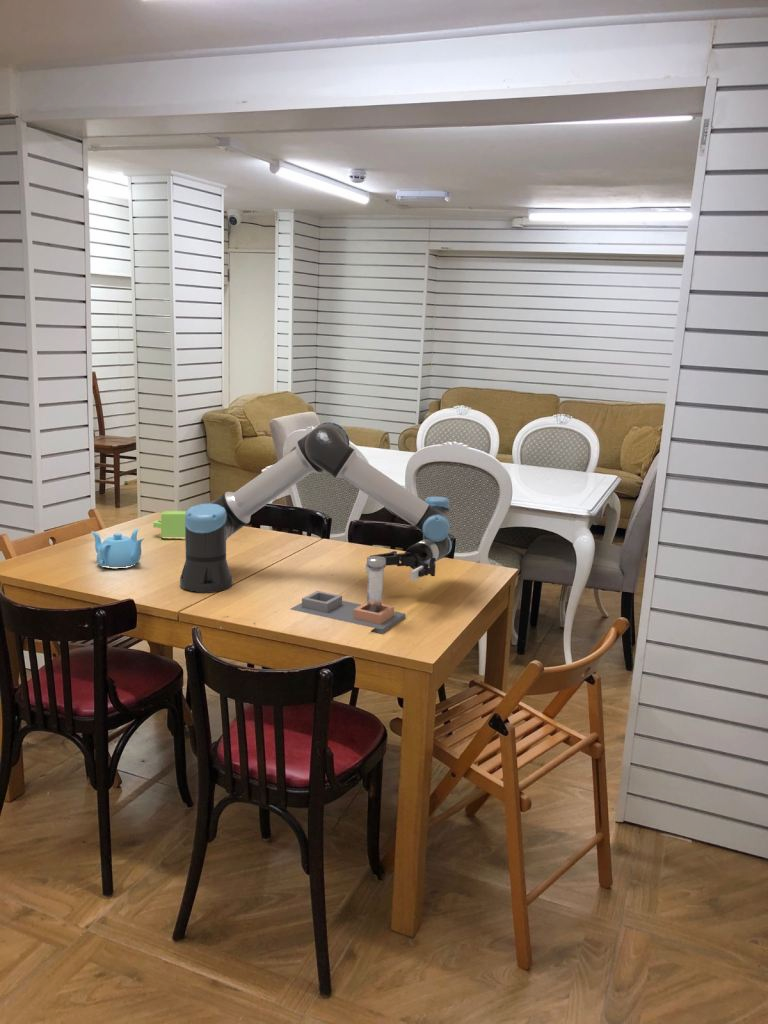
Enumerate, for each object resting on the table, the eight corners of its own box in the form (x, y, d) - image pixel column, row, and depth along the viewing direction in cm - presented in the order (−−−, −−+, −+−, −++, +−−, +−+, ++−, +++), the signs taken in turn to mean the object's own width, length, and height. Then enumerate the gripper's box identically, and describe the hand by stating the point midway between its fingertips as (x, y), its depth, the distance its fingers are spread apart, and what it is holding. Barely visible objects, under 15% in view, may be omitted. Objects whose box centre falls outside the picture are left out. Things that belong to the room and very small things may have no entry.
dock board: (289, 613, 210) (289, 600, 209) (316, 599, 222) (316, 586, 222) (381, 633, 198) (382, 620, 197) (405, 617, 210) (405, 604, 209)
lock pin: (360, 617, 205) (363, 559, 202) (369, 612, 210) (372, 555, 207) (377, 621, 203) (380, 562, 200) (386, 615, 208) (389, 558, 204)
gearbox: (204, 534, 292) (205, 509, 290) (204, 540, 282) (204, 514, 280) (154, 534, 288) (154, 508, 286) (152, 539, 278) (152, 513, 277)
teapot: (95, 573, 238) (94, 541, 236) (91, 560, 251) (90, 529, 249) (145, 569, 244) (144, 538, 242) (139, 556, 257) (138, 526, 255)
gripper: (460, 574, 224) (430, 593, 206) (383, 560, 235) (348, 577, 217) (461, 549, 223) (432, 566, 204) (384, 536, 234) (349, 551, 215)
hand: (389, 572), depth 211 cm, fingers open, 13 cm apart
